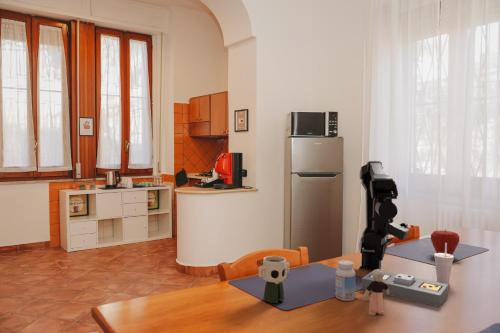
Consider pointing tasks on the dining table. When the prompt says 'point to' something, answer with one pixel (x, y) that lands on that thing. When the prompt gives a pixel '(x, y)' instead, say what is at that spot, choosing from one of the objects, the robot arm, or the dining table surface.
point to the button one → (384, 277)
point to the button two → (404, 279)
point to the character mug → (274, 277)
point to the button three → (431, 287)
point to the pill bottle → (345, 281)
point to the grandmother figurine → (376, 293)
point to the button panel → (411, 289)
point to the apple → (444, 241)
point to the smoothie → (443, 266)
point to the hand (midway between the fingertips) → (380, 260)
